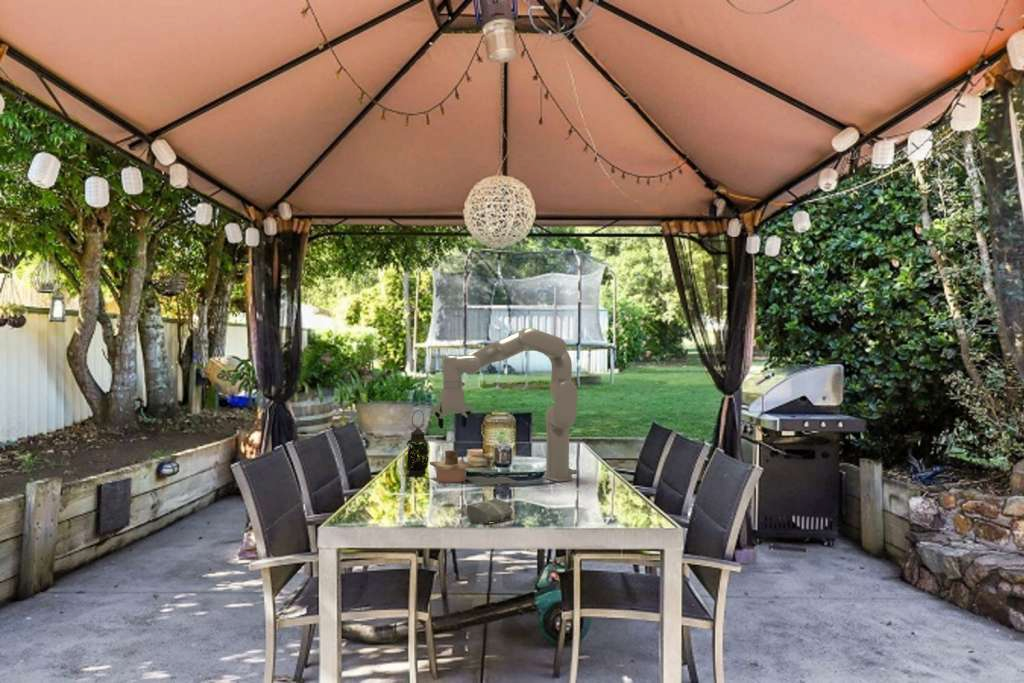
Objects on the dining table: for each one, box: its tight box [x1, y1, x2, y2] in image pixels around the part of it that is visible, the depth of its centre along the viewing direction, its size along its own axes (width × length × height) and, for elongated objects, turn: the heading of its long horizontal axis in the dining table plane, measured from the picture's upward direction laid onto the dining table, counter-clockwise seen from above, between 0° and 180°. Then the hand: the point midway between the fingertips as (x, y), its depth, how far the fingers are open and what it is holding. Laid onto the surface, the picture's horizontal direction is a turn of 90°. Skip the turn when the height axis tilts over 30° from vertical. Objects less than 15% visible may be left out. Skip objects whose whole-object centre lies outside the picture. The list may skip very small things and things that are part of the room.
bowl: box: [435, 468, 467, 483], centre depth 296 cm, size 11×11×7 cm
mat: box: [465, 475, 519, 486], centre depth 297 cm, size 18×18×1 cm
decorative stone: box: [466, 498, 513, 524], centre depth 232 cm, size 13×10×6 cm
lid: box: [429, 450, 475, 470], centre depth 296 cm, size 14×14×6 cm
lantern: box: [406, 409, 430, 478], centre depth 311 cm, size 10×9×28 cm
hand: (452, 427), depth 296 cm, fingers open, 9 cm apart
